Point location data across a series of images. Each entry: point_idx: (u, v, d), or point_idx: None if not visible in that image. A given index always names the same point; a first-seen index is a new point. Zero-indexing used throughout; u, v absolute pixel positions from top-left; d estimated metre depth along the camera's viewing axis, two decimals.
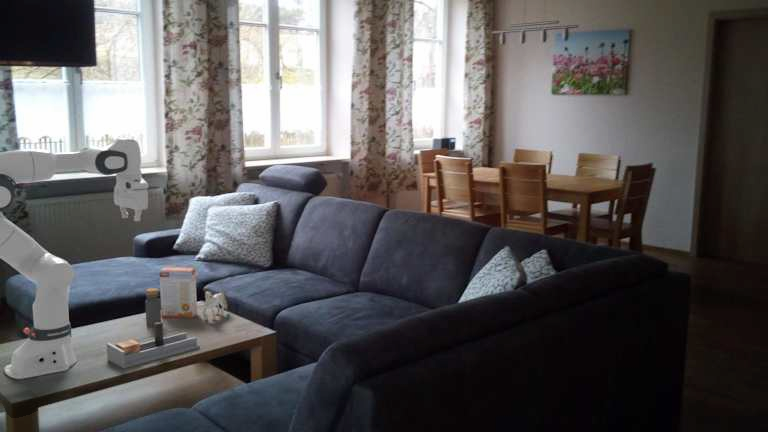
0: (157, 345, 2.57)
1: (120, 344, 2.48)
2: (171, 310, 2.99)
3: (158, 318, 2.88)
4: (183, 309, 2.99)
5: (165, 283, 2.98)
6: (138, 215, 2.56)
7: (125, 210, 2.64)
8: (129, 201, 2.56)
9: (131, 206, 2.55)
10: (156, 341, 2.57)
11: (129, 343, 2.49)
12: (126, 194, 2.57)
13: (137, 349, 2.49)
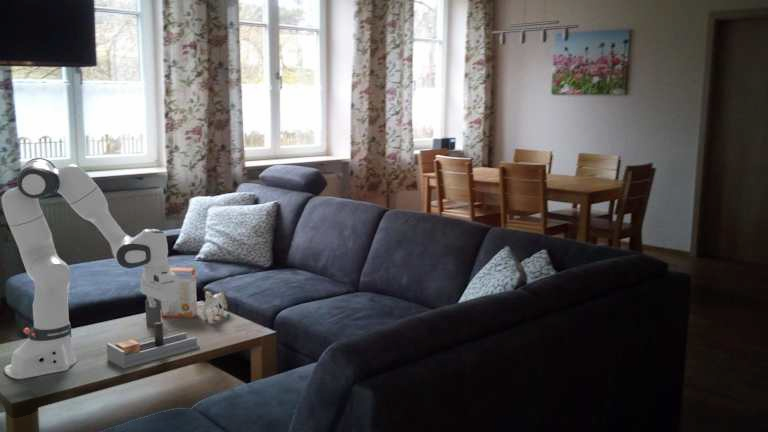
0: (157, 345, 2.57)
1: (120, 344, 2.48)
2: (171, 310, 2.99)
3: (158, 318, 2.88)
4: (183, 309, 2.99)
5: None
6: (166, 307, 2.52)
7: (152, 299, 2.60)
8: (157, 293, 2.52)
9: (159, 298, 2.51)
10: (156, 341, 2.57)
11: (129, 343, 2.49)
12: (154, 285, 2.53)
13: (137, 349, 2.49)
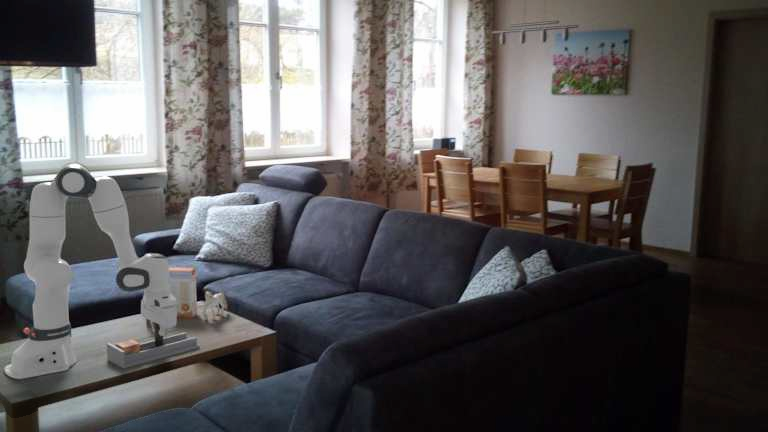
0: (157, 345, 2.57)
1: (120, 344, 2.48)
2: None
3: None
4: (183, 309, 2.99)
5: None
6: (163, 330, 2.55)
7: None
8: (157, 318, 2.53)
9: (159, 323, 2.52)
10: (156, 341, 2.57)
11: (129, 343, 2.49)
12: (154, 309, 2.55)
13: (137, 349, 2.49)
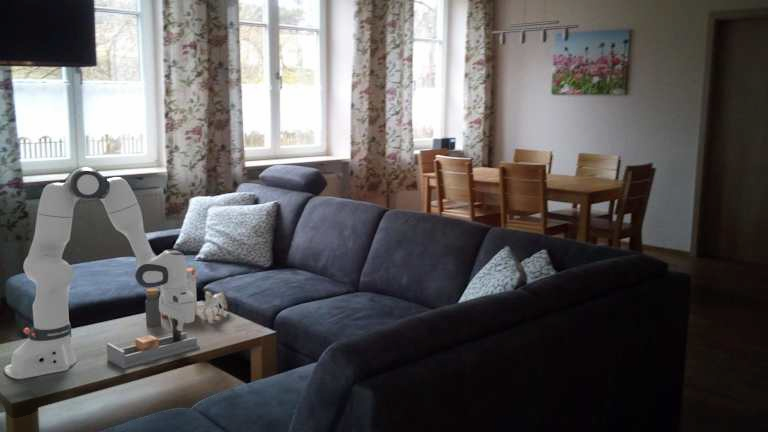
0: (175, 340, 2.62)
1: (139, 339, 2.53)
2: None
3: (158, 318, 2.88)
4: None
5: None
6: (181, 325, 2.60)
7: None
8: (175, 313, 2.58)
9: (178, 318, 2.57)
10: (174, 336, 2.62)
11: (148, 339, 2.54)
12: (172, 305, 2.60)
13: (156, 344, 2.54)
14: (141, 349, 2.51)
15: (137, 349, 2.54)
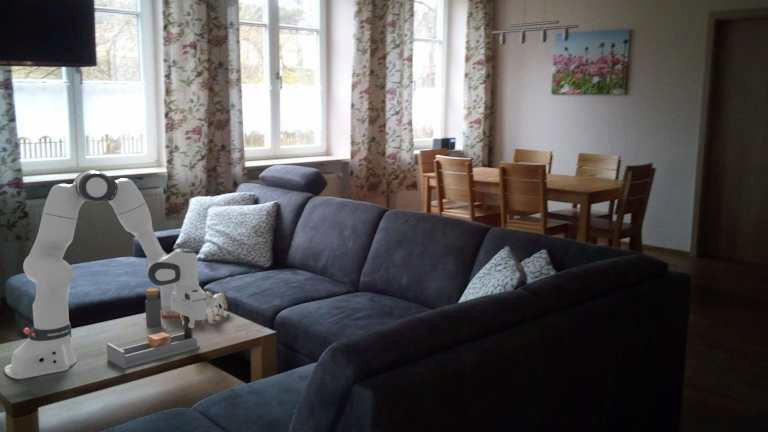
0: (186, 337, 2.65)
1: (152, 336, 2.57)
2: (171, 310, 2.99)
3: (158, 318, 2.88)
4: None
5: None
6: (192, 322, 2.63)
7: None
8: (187, 310, 2.62)
9: (189, 315, 2.61)
10: (185, 334, 2.65)
11: (160, 336, 2.57)
12: (184, 303, 2.63)
13: (168, 341, 2.58)
14: (153, 346, 2.55)
15: (149, 346, 2.57)
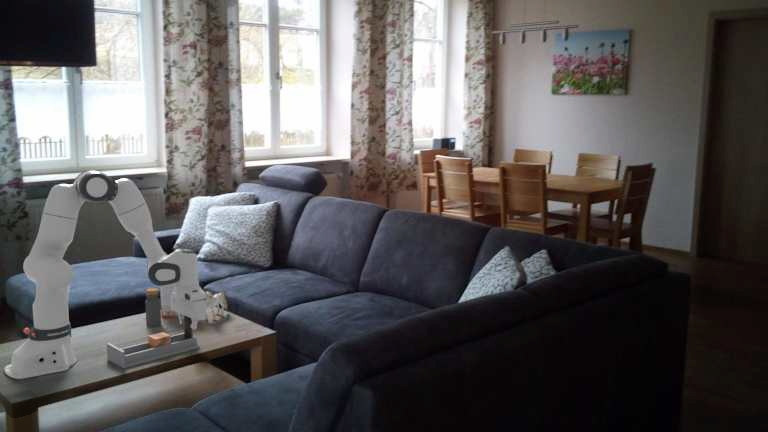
0: (187, 337, 2.65)
1: (152, 336, 2.57)
2: (171, 310, 2.99)
3: (158, 318, 2.88)
4: None
5: None
6: (195, 323, 2.62)
7: (183, 316, 2.69)
8: (187, 311, 2.62)
9: (189, 315, 2.61)
10: (186, 333, 2.65)
11: (160, 335, 2.57)
12: (184, 303, 2.63)
13: (168, 341, 2.58)
14: (154, 346, 2.55)
15: (150, 346, 2.57)
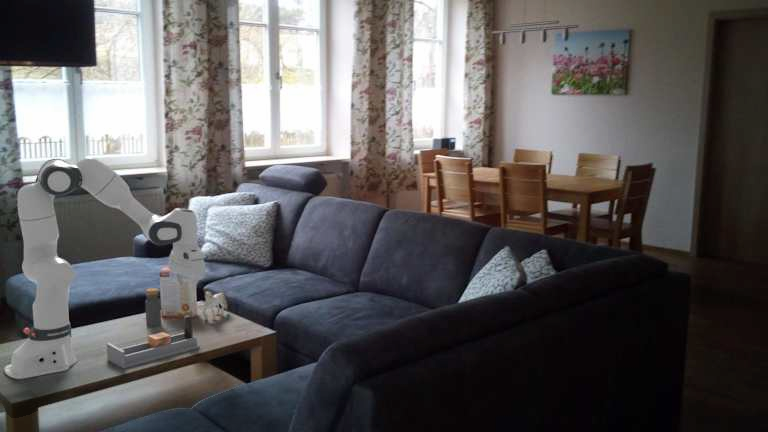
0: (187, 337, 2.65)
1: (152, 336, 2.57)
2: (171, 310, 2.99)
3: (158, 318, 2.88)
4: (183, 309, 2.99)
5: (165, 283, 2.98)
6: (194, 284, 2.59)
7: (180, 277, 2.67)
8: (185, 271, 2.59)
9: (188, 275, 2.58)
10: (186, 333, 2.65)
11: (160, 335, 2.57)
12: (182, 263, 2.61)
13: (168, 341, 2.58)
14: (154, 346, 2.55)
15: (150, 346, 2.57)
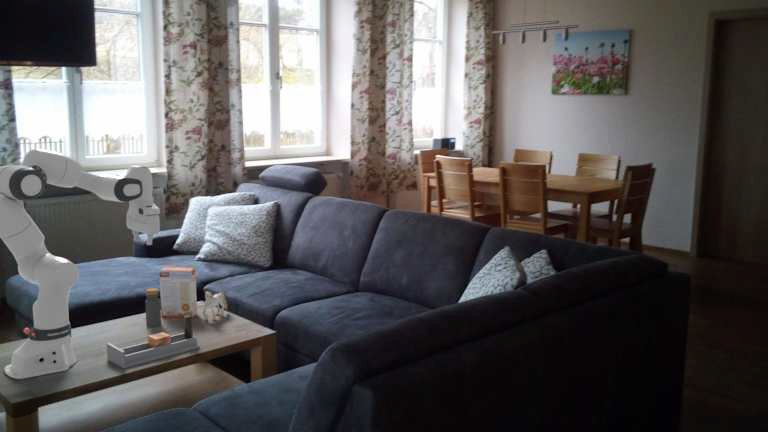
0: (187, 337, 2.65)
1: (152, 336, 2.57)
2: (171, 310, 2.99)
3: (158, 318, 2.88)
4: (183, 309, 2.99)
5: (165, 283, 2.98)
6: (150, 239, 2.67)
7: (137, 234, 2.75)
8: (141, 226, 2.67)
9: (143, 231, 2.66)
10: (186, 333, 2.65)
11: (160, 335, 2.57)
12: (138, 219, 2.68)
13: (168, 341, 2.58)
14: (154, 346, 2.55)
15: (150, 346, 2.57)
